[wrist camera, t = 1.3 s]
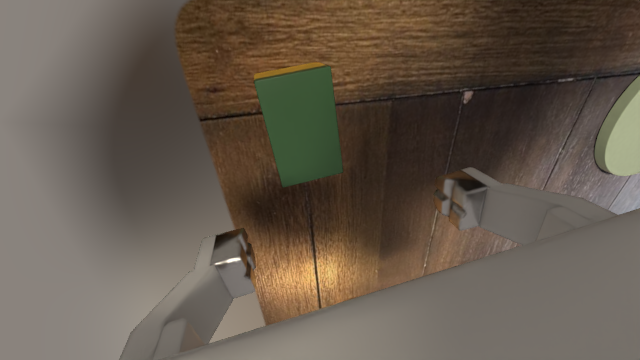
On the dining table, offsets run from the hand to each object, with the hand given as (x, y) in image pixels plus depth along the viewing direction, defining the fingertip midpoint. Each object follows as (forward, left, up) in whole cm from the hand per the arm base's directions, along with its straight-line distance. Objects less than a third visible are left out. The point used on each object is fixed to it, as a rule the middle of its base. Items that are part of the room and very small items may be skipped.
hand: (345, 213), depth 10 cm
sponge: (-1, 0, -13) cm, 13 cm away
